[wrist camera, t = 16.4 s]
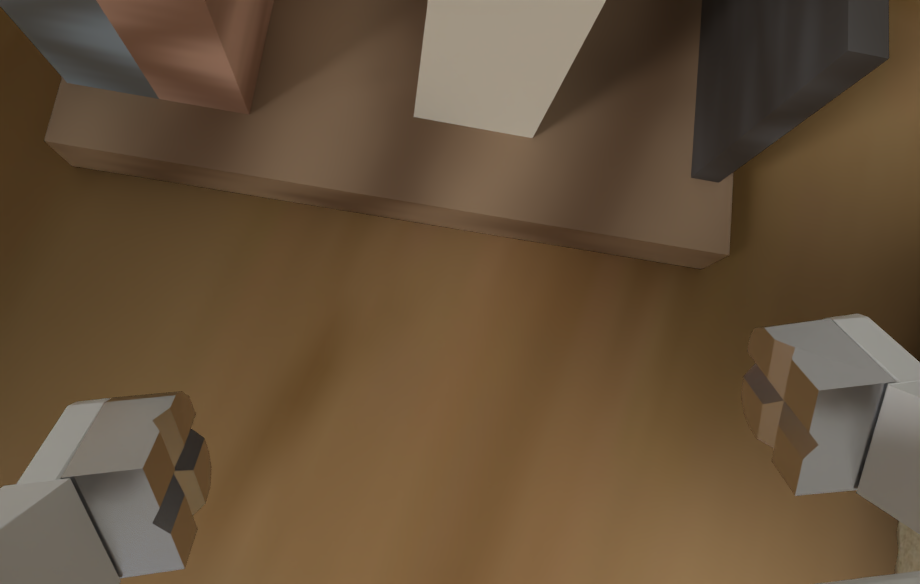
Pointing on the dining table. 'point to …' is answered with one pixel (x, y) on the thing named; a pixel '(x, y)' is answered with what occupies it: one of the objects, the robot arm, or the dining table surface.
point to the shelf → (443, 144)
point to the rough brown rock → (907, 549)
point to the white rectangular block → (498, 60)
